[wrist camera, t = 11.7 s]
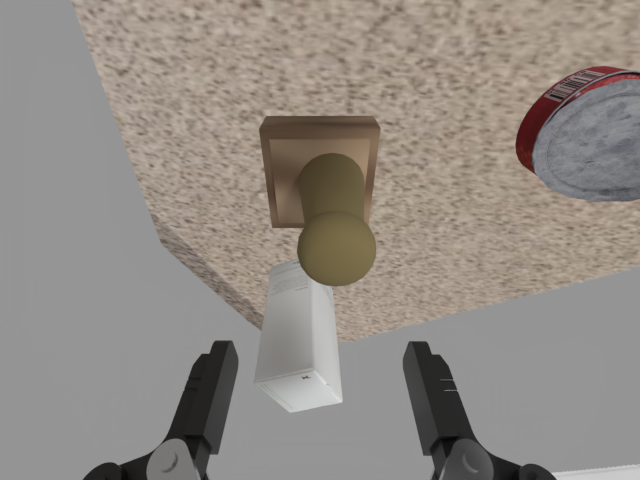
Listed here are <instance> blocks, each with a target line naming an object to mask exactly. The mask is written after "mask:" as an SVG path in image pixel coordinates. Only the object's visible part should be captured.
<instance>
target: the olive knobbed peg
mask: <svg viewBox="0 0 640 480" xmlns="http://www.w3.org/2000/svg"><path fill="white" fill-rule="evenodd" d="M299 190H300V197H301V203H302V210H303V216H304V223H305V227H304V228H303V230H302V232H301V234H300V236H299V239H298V246H297V255H298V259H299V262H300V266H301V268H302V269H303V270H304V271H305V273H306V274H307V275H308V276H309V277H310V278H311V279H313V280H314V281H316V282H317V283H320V284H323V285H326V286H335V287H337V286H346V285H349V284H352V283H355V282H357V281H358V280H360V279H362V278H363V277H364V276H365V275H366V274H367V273H368V272H369V270H370V269H371V268H372V266H373V263H374V261H375V258H376V241H375V237H374V235H373V233H372V231H371V229H370V227H369V226H368V225H367V223H365V222H364V175H363V173H362V171H361V168H360V166H359V165H358V164H357V163H356V162H355V161H354V160H353V159H351V158H349V157H347V156H345V155H343V154H337V153H328V154H321V155H319V156H317V157H315V158H313V159H311V160H310V161H309V162H308V163H307V164H306V165H305V166H304V168H303V170H302V172H301V174H300V178H299Z"/></svg>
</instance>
